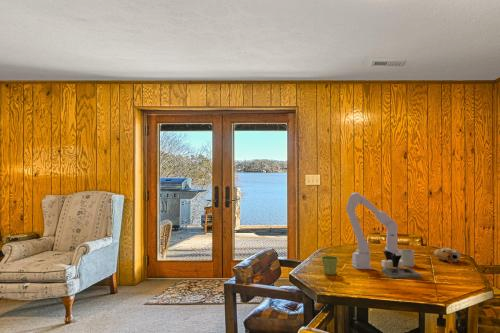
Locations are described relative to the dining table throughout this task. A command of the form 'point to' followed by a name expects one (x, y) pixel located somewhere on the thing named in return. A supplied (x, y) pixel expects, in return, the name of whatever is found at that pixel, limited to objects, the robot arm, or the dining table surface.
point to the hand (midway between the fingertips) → (392, 265)
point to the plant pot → (329, 264)
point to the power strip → (391, 264)
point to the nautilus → (447, 254)
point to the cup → (407, 257)
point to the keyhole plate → (401, 273)
